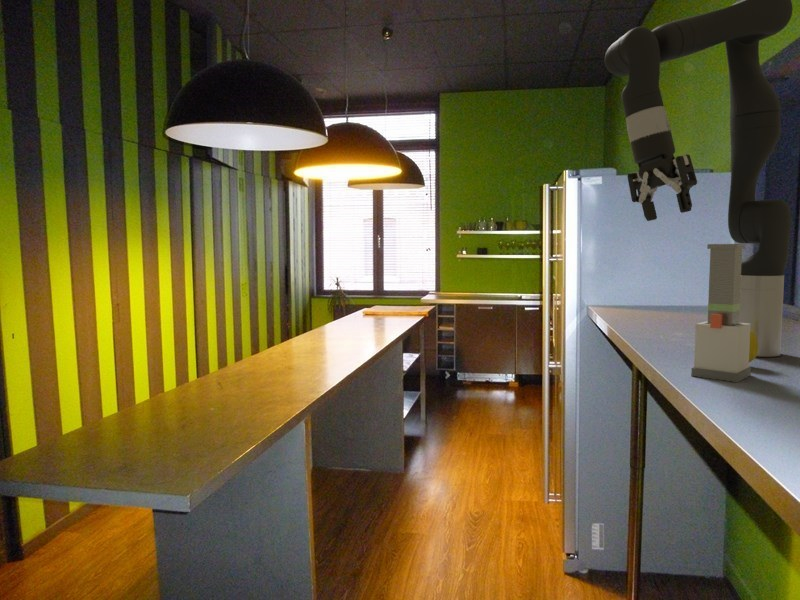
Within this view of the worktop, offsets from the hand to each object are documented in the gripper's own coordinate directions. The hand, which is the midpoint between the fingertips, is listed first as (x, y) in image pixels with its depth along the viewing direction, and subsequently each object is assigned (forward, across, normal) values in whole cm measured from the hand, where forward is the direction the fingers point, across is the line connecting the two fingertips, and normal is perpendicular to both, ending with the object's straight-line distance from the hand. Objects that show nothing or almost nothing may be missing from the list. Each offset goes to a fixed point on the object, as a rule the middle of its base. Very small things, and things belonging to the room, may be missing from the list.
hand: (668, 216), depth 118 cm
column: (+24, -10, +4) cm, 26 cm away
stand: (+30, -9, +6) cm, 32 cm away
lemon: (+32, -4, -5) cm, 33 cm away
